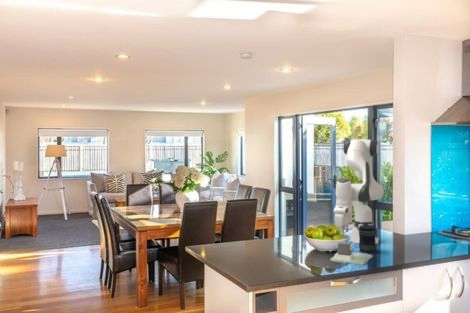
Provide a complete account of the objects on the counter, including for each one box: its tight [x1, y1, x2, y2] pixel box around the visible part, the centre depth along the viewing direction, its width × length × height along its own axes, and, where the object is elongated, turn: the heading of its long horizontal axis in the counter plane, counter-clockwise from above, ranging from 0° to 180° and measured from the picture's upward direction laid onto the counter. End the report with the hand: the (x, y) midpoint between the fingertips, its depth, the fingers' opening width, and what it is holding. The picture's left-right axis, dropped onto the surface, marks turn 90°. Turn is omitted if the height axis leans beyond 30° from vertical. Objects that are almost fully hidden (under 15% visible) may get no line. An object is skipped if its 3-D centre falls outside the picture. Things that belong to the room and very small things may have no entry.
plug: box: [337, 241, 352, 256], centre depth 244 cm, size 4×6×8 cm, turn 59°
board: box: [329, 248, 373, 266], centre depth 246 cm, size 20×18×4 cm
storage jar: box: [358, 225, 377, 254], centre depth 264 cm, size 10×10×15 cm
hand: (344, 233), depth 244 cm, fingers open, 6 cm apart
